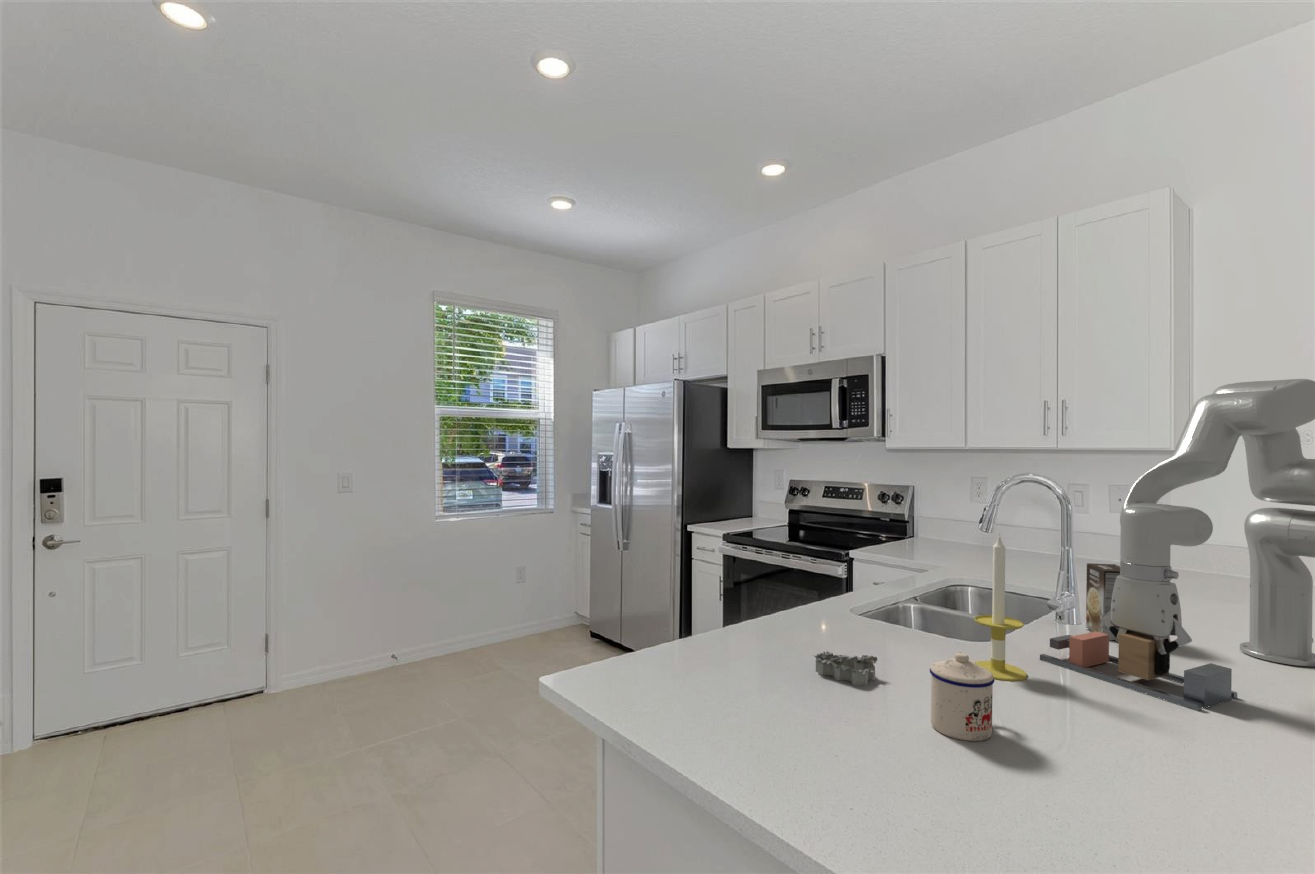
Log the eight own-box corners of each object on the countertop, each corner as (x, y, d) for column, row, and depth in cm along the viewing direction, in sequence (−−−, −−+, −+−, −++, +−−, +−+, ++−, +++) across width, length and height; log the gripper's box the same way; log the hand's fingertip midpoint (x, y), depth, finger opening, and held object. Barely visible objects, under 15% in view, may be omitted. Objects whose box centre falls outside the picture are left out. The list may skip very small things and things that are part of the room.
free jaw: (1072, 650, 136) (1072, 625, 136) (1108, 661, 129) (1109, 634, 129) (1045, 656, 132) (1046, 630, 132) (1082, 668, 125) (1082, 640, 125)
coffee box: (1084, 628, 154) (1085, 562, 154) (1113, 630, 152) (1114, 563, 152) (1102, 640, 145) (1103, 570, 145) (1134, 642, 143) (1135, 571, 143)
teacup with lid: (975, 749, 92) (976, 669, 92) (917, 725, 100) (918, 651, 100) (1013, 727, 99) (1014, 653, 99) (956, 707, 107) (957, 638, 107)
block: (1139, 665, 124) (1139, 630, 124) (1169, 674, 119) (1169, 637, 119) (1118, 671, 120) (1118, 634, 120) (1148, 680, 116) (1148, 642, 116)
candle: (969, 675, 121) (971, 535, 122) (968, 659, 130) (970, 528, 131) (1029, 684, 117) (1031, 539, 117) (1024, 667, 126) (1026, 532, 126)
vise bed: (1078, 651, 137) (1078, 625, 137) (1237, 698, 112) (1237, 667, 112) (1039, 659, 131) (1040, 632, 131) (1198, 711, 106) (1198, 678, 107)
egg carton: (880, 678, 120) (880, 657, 120) (861, 689, 115) (861, 667, 115) (829, 663, 127) (830, 643, 127) (809, 673, 122) (810, 652, 122)
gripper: (1209, 580, 114) (1208, 681, 114) (1107, 562, 129) (1106, 652, 129) (1187, 583, 111) (1186, 688, 110) (1085, 565, 126) (1084, 657, 126)
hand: (1143, 667), depth 120 cm, fingers closed on block, 5 cm apart
